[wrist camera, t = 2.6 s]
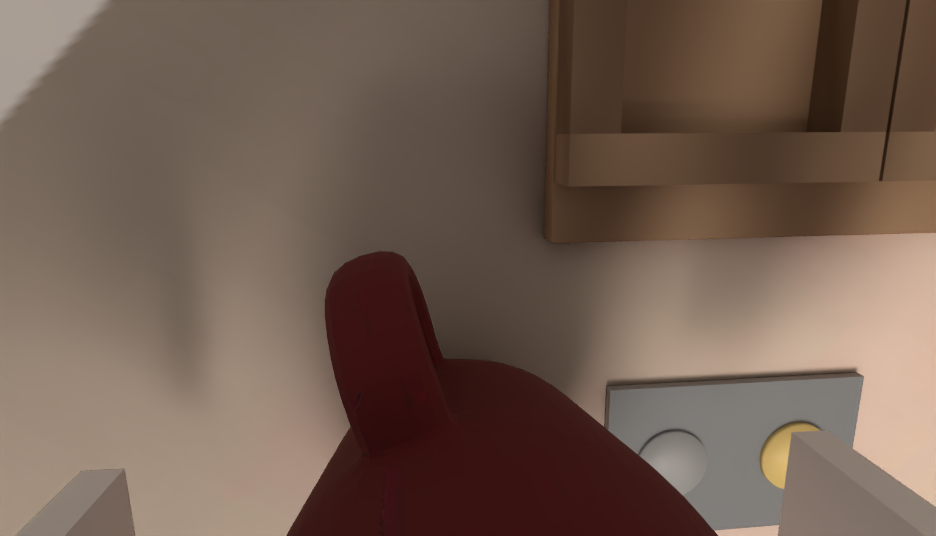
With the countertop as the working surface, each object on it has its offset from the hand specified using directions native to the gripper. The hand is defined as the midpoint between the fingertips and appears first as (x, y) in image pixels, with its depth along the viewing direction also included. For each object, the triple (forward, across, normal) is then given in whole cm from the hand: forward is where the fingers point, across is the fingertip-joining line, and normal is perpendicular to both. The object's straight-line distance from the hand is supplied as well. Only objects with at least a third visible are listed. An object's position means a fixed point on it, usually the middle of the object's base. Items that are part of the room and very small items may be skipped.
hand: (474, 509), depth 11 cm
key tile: (+5, +8, -2) cm, 10 cm away
